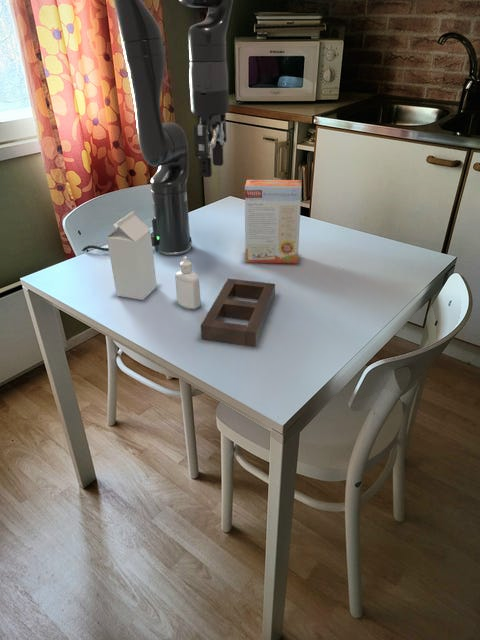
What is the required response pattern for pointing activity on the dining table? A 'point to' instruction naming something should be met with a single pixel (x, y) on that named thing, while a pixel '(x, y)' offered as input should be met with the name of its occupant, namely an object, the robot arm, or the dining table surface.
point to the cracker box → (272, 220)
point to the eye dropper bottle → (187, 286)
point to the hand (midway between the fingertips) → (212, 170)
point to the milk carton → (132, 258)
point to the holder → (239, 312)
